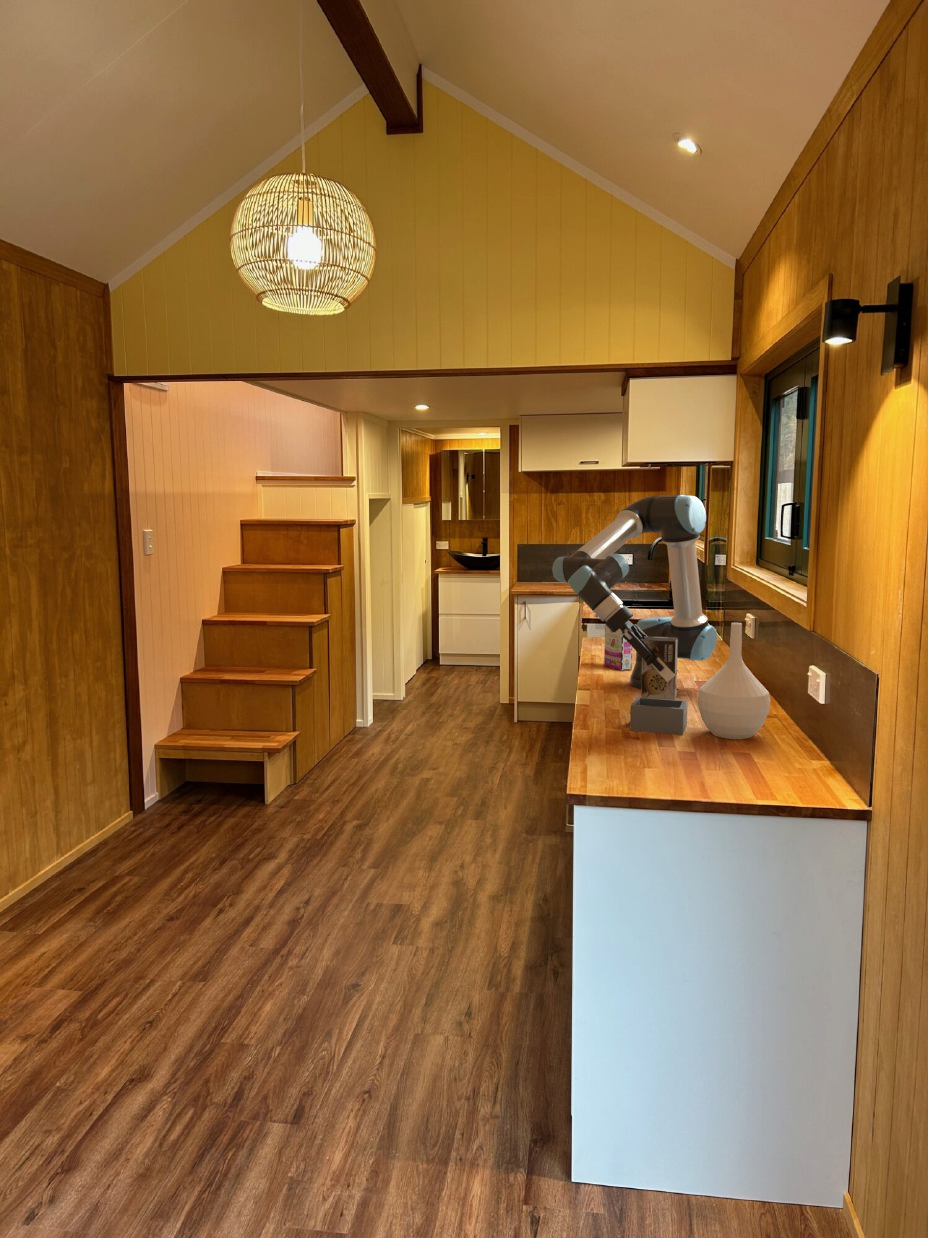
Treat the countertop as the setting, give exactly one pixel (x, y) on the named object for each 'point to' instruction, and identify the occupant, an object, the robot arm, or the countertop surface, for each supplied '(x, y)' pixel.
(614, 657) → the candy bar box
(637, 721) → the rectangular open box
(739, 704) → the vase
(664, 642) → the coffee box
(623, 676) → the countertop surface
